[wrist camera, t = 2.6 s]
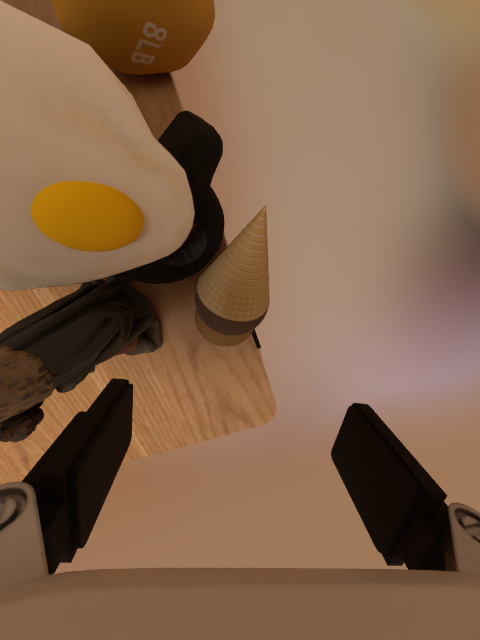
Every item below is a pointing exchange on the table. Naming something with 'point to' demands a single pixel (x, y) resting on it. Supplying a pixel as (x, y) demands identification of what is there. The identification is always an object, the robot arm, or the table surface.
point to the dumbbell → (139, 31)
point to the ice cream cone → (235, 288)
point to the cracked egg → (77, 165)
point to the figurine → (69, 347)
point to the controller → (200, 165)
